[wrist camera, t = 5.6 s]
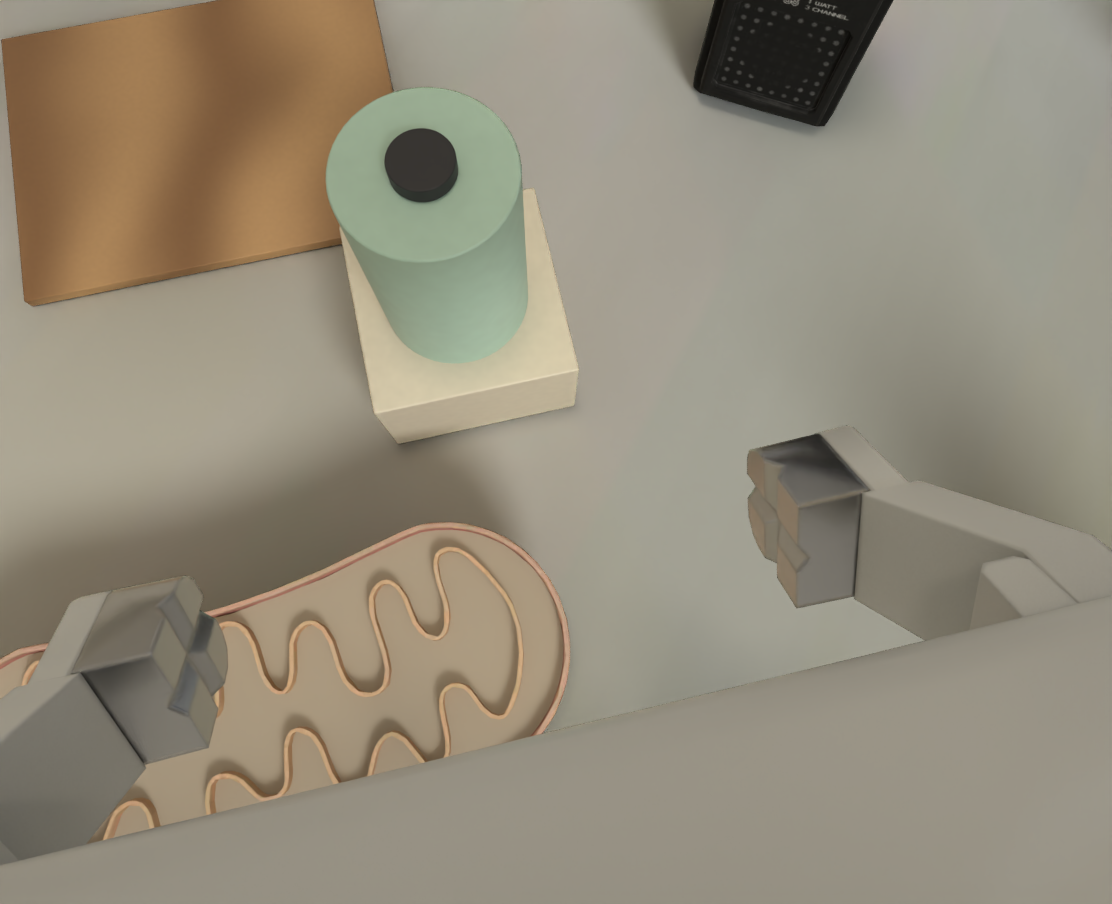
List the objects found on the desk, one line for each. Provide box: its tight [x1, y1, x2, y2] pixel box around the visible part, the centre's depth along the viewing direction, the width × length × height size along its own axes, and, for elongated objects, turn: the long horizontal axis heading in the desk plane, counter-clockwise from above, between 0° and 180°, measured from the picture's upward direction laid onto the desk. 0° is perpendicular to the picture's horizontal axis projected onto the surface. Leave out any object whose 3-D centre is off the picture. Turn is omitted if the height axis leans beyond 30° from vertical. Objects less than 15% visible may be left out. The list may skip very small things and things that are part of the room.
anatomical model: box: [0, 522, 570, 844], centre depth 30 cm, size 23×10×5 cm, turn 108°
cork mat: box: [1, 0, 393, 306], centre depth 38 cm, size 18×14×1 cm
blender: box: [325, 87, 579, 444], centre depth 29 cm, size 8×8×14 cm
